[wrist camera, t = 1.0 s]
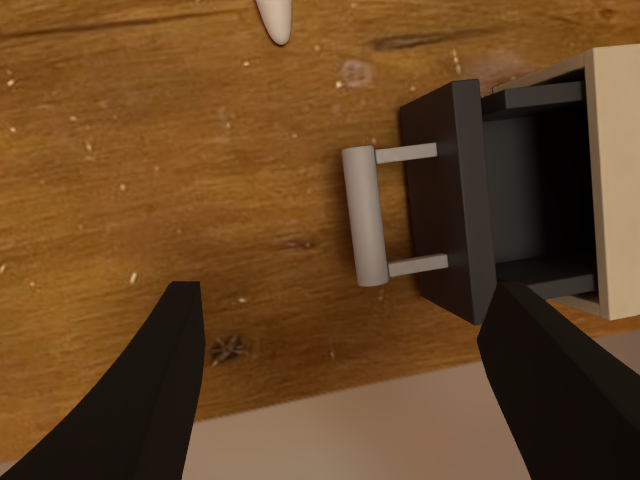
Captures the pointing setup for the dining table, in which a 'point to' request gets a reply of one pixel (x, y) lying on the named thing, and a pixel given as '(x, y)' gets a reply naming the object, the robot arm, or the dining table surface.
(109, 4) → the dining table surface
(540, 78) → the cabinet
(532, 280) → the drawer
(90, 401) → the robot arm
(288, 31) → the long cone
